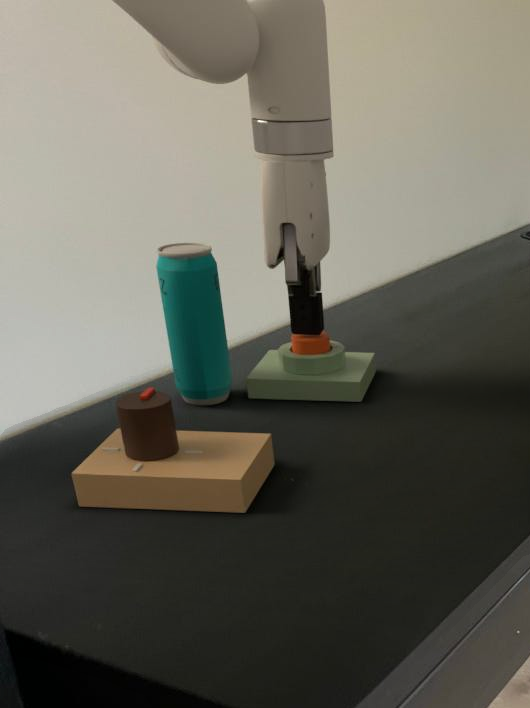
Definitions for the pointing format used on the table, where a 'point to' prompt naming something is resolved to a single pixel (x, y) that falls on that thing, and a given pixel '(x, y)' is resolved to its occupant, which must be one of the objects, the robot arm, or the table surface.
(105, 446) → the dial panel
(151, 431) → the dial
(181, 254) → the beverage can
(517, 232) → the table surface
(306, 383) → the switch base
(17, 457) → the table surface
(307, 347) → the switch button
